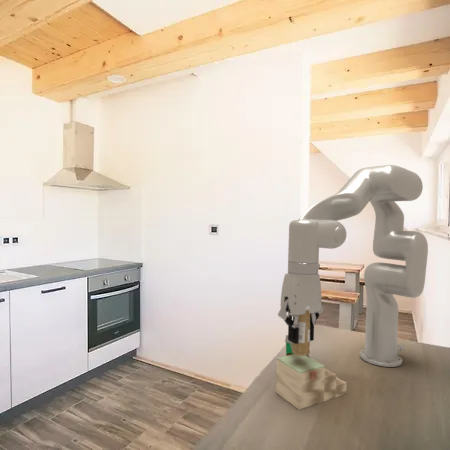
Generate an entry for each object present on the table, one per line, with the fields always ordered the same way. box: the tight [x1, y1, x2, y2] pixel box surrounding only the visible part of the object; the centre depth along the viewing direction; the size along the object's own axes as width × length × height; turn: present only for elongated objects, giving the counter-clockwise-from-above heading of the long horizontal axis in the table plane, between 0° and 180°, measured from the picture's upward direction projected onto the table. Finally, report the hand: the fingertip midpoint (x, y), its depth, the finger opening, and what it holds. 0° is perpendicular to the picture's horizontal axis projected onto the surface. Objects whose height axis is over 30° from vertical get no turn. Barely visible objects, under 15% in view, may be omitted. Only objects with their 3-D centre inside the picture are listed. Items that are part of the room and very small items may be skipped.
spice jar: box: [292, 306, 311, 356], centre depth 86 cm, size 5×5×13 cm
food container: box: [284, 334, 312, 358], centre depth 106 cm, size 12×6×10 cm, turn 148°
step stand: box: [275, 354, 348, 410], centre depth 88 cm, size 16×10×9 cm, turn 119°
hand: (300, 339), depth 86 cm, fingers closed on spice jar, 4 cm apart
